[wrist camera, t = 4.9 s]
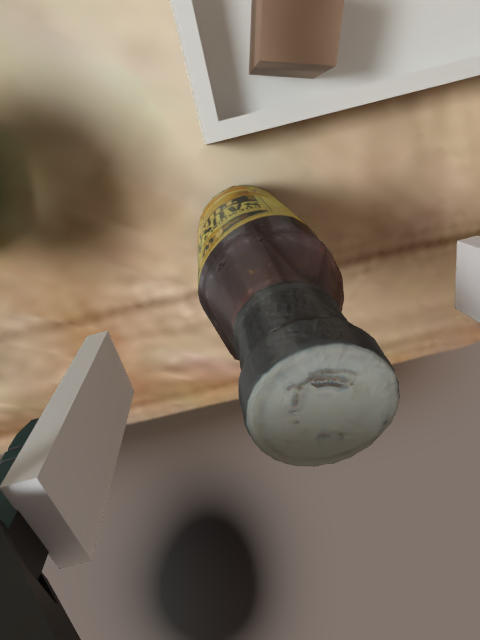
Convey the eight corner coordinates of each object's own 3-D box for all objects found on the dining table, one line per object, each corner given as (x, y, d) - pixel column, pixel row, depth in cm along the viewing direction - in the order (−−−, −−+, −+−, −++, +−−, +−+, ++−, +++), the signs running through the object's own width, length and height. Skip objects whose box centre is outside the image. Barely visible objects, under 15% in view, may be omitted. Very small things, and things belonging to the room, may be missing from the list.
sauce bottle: (228, 163, 25) (324, 208, 7) (299, 215, 27) (515, 352, 9) (179, 245, 27) (154, 444, 9) (249, 287, 29) (343, 519, 11)
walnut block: (248, 74, 22) (259, 60, 18) (252, -12, 20) (264, -46, 17) (313, 78, 22) (336, 65, 19) (321, -5, 21) (349, -36, 17)
